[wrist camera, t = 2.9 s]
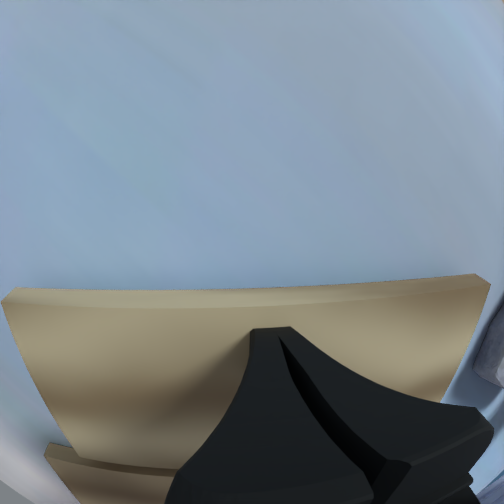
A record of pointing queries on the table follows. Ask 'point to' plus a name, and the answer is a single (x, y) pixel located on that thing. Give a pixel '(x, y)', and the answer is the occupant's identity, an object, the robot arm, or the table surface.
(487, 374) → the stone block
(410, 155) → the table surface
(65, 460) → the laid floor row
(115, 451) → the board
